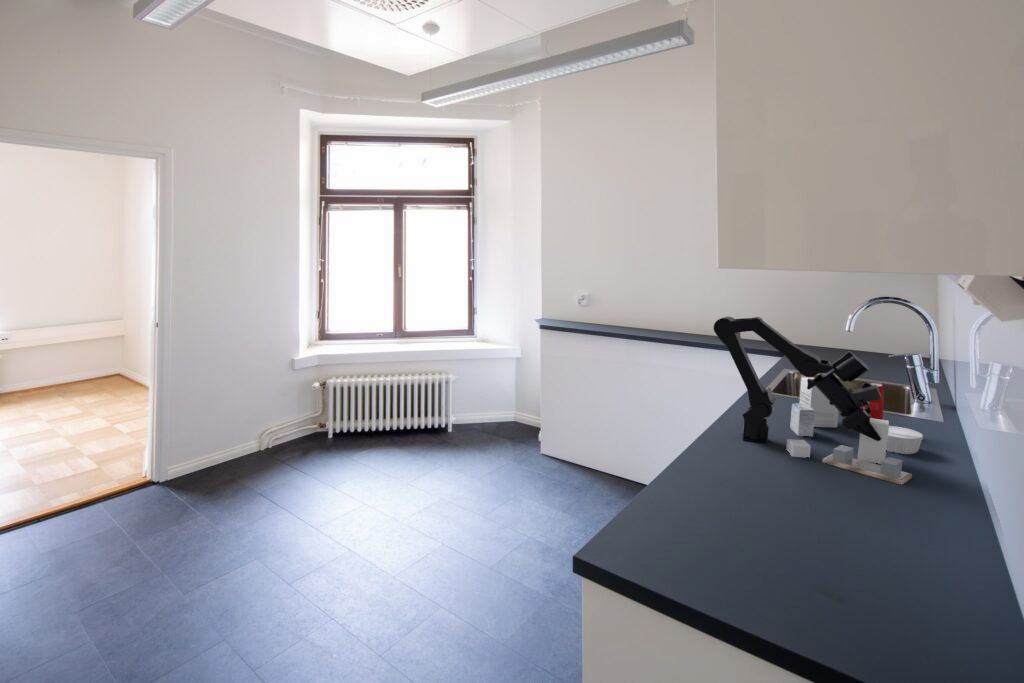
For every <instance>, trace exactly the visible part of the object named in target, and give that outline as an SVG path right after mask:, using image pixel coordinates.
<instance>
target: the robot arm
mask: <svg viewBox="0 0 1024 683" xmlns="http://www.w3.org/2000/svg"><path fill="white" fill-rule="evenodd" d="M713 332H714V333H715V334H716V336H717V338H718V339H719V340H720V341H721V343H722V344H724V346H725V347H726V349H728V351H729V353H730V356H731V358H732V360H733V362H734V365H735V366H736V369H737V371H738V373H739V374H740V377H741V379H742V382H743V383H744V386H745V389H746V391H747V394H748V395H747V396H748V402H749V407H748V408H747V409H746V410H745V411H744V413H743V414H742V417H743V428H742V436H741V437H742V439H741V440H743V441H747V442H756V443H767V440H768V439H769V424H768V421H767V420H768V419H767V418H768V417H770V416H771V415H772V414H773V412H774V410H775V408H776V404H777V403H776V401H777V398H776V397H775V395H774V394H773V390H772V387H768V388H767V389H766V388H765V386H764V385H763V384H762V382H761V381H760V379H759V377H758V374H757V372H756V370H755V368H754V366H753V364H752V362H751V359H750V357H749V355H748V352H747V351H746V349H745V346H744V344H743V342H742V338H741V333H745V332H746V333H747V332H754V333H755V334H756V335H757V336H759V337H760V338H761V339H762V340H764V341H765V342H766V343H768V344H769V345H771V347H773V348H775V349H776V350H777V351H778V352H779V353H781V354H782V355H784V356H785V358H787V360H788V361H789V362H790V364H792V366H793V367H794V368H795V369H796V371H797V372H798V373H800V375H801V376H802V377H808V378H814V379H808V380H807V382H808V386H807V389H808V390H809V389H811V388H812V387H814V386H816V388H817V389H818V390H819V391H820V392H821V393H822V394H823V395H824V396H825V397H826V398H827V399H828V400H829V403H830V404H831V405H834V406H835V407H836V408H837V409H838V411H839V413H840V414H839V415H840V416H841V417H842V420H841V426H843V428H844V429H845V430H846V431H849V430H853V431H855V432H857V433H858V434H860V433H861V434H863V435H866V436H868V437H870V438H872V439H874V440H876V441H879V440H881V437H880V436H879V434H878V433H877V431H876V430H875V429H874V427H873V426H872V424H871V423H870V418H872V417H871V416H870V406H869V407H867V408H864V407H863V406H864V405H869V401H873V400H880V399H881V394H880V391H879V389H878V387H877V385H874V386H873V385H871V384H870V383H871V382H869V381H867V382H863V383H862V385H861V388H858V389H856V390H853V389H852V387H848V386H846V385H845V384H844V382H849V383H852V382H854V381H855V380H856V379H858V378H859V377H861V376H863V375H865V373H867V372H869V371H870V368H869V366H868V365H867V364H866V363H865V362H864V361H863V360H862V359H861V358H859V357H858V356H856V355H855V354H854V353H853V352H851V351H850V350H849V351H847V352H846V353H845V354H844V355H843V356H841V357H839V359H836V360H835V361H831V360H826V359H822V358H821V357H820V356H818V355H816V354H815V353H813V352H811V351H809V350H807V349H804V348H802V347H800V346H798V345H797V344H795V343H793V342H792V341H791V340H790V339H789V338H787V337H785V336H784V335H783V334H781V333H780V332H779V331H778V330H776V329H775V328H773V326H770V324H768V323H767V322H766V321H764V320H763V318H762V317H760V316H754V317H744V318H734V317H731V316H724V317H721V318H718V319H717V320H716V321H715V322H714V324H713ZM825 373H826V374H825Z"/></svg>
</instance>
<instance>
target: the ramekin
mask: <svg viewBox="0 0 1024 683" xmlns="http://www.w3.org/2000/svg"><path fill="white" fill-rule="evenodd" d="M922 440H924V435H923V433H921V432H919V431H916V430H914V429H910V428H908V427H901V426H896V425H889V430H888V438H887V447H886V450H887V451H886V452H890V453H894V452H895V454H899V453H900V454H901V455H913V454H916V453H917V452H918V451H919V449H920V446H921V444H922Z"/></svg>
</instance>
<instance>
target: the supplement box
mask: <svg viewBox="0 0 1024 683" xmlns="http://www.w3.org/2000/svg"><path fill="white" fill-rule="evenodd" d="M814 378H815V377H806V376H802V377H801V378H800V381H801V382H800V394H799V403H801V404H807V405H808V406H810V407H811V408H812V409H814V410H815V418H814V428H833V429H835V428H836V429H837V428H838V424H839V423H838V422H839V413H840V412H839V411H838V409H837V408H836V407H835V406H834V405H831V404H830V403H829V400H828V399H827V398H826V397H825V396H824V395H823V394H822V393H821V392H820V391H819V390H818V389H817V388H816V386H814V387H812V388H811V389H809V390H808V389H807V386H808V382H807V380H808V379H814Z"/></svg>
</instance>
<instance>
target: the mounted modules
mask: <svg viewBox="0 0 1024 683" xmlns="http://www.w3.org/2000/svg"><path fill="white" fill-rule="evenodd" d="M854 449H855V448H854V447H851V446H847V445H843V444H840V445H837V447H834V448H833V451H832V454H833V459H832V460H836V461H840V462H843V463H846V462H847V461H849V460H851V459H853V456H854ZM903 461H904V460H903V459H898V458H895V457H890V456H888V457H885V459H884V460H883V461H881V464H880V466H881V469H880V473H883V474H886V475H890V476H893V477H894V476H896V475H897V474H899V473H900V472H901V471H903V470H902V469H903V468H902V467H903Z"/></svg>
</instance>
